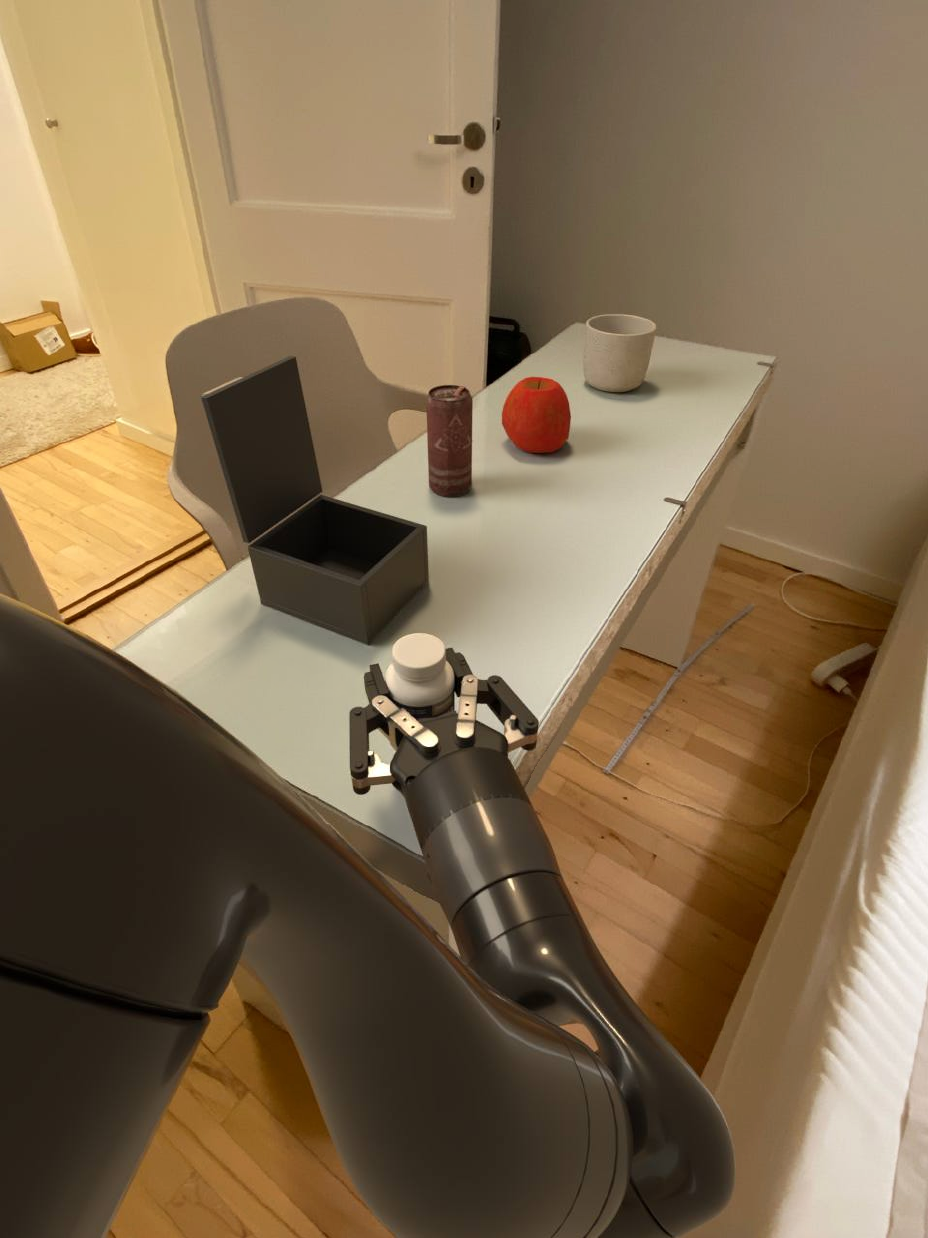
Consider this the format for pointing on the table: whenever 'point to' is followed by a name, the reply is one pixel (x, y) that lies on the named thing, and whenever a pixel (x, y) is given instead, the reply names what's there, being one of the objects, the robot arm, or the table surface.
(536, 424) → the apple
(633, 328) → the planter
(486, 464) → the table surface
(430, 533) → the table surface
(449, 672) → the pill bottle
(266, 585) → the hinged lid box
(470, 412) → the can
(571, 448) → the table surface
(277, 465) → the upright box lid
